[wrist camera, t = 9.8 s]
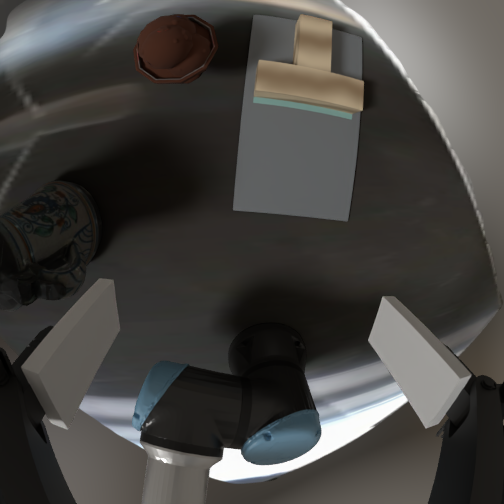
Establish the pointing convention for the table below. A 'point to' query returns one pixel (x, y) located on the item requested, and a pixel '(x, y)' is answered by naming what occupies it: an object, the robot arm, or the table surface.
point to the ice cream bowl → (175, 49)
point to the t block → (310, 72)
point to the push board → (296, 135)
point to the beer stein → (47, 244)
